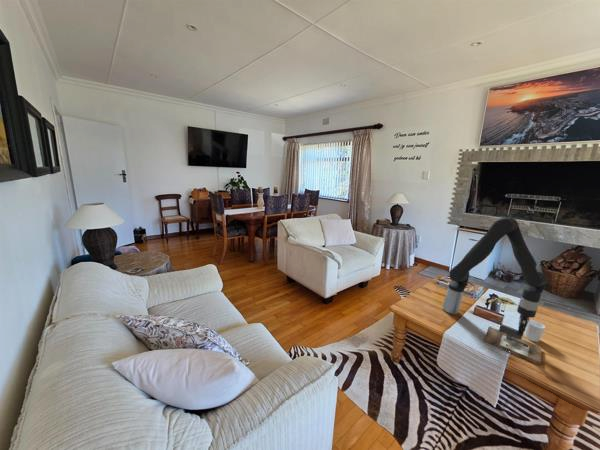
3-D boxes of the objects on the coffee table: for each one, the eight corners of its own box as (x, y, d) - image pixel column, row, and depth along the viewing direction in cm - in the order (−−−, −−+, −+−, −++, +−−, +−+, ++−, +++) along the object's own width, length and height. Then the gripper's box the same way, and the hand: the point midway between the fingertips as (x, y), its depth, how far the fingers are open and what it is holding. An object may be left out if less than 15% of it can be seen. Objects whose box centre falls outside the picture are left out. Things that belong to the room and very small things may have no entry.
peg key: (497, 335, 145) (500, 325, 143) (498, 333, 147) (500, 323, 145) (527, 347, 136) (531, 337, 134) (528, 345, 138) (531, 335, 136)
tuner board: (483, 341, 143) (484, 338, 143) (488, 328, 154) (489, 325, 154) (539, 365, 127) (540, 362, 126) (540, 350, 138) (541, 346, 138)
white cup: (534, 343, 143) (539, 329, 140) (519, 334, 150) (524, 320, 148) (543, 341, 145) (548, 327, 143) (528, 332, 152) (533, 318, 150)
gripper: (519, 298, 142) (512, 323, 146) (517, 308, 132) (510, 334, 136) (537, 304, 137) (529, 329, 141) (536, 314, 127) (528, 341, 131)
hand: (520, 331), depth 138 cm, fingers open, 8 cm apart
